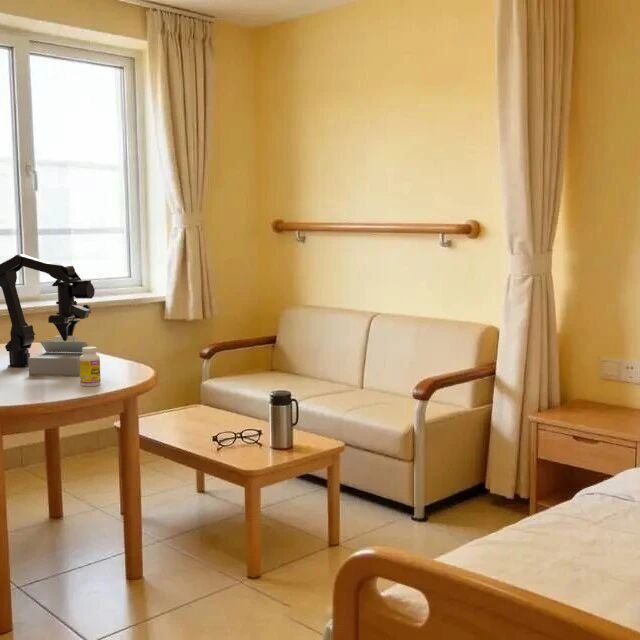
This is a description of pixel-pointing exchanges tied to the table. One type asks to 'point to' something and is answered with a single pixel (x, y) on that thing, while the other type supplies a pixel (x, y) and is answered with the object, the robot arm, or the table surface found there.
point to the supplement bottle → (89, 367)
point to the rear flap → (64, 345)
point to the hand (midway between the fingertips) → (67, 340)
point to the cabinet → (55, 364)
